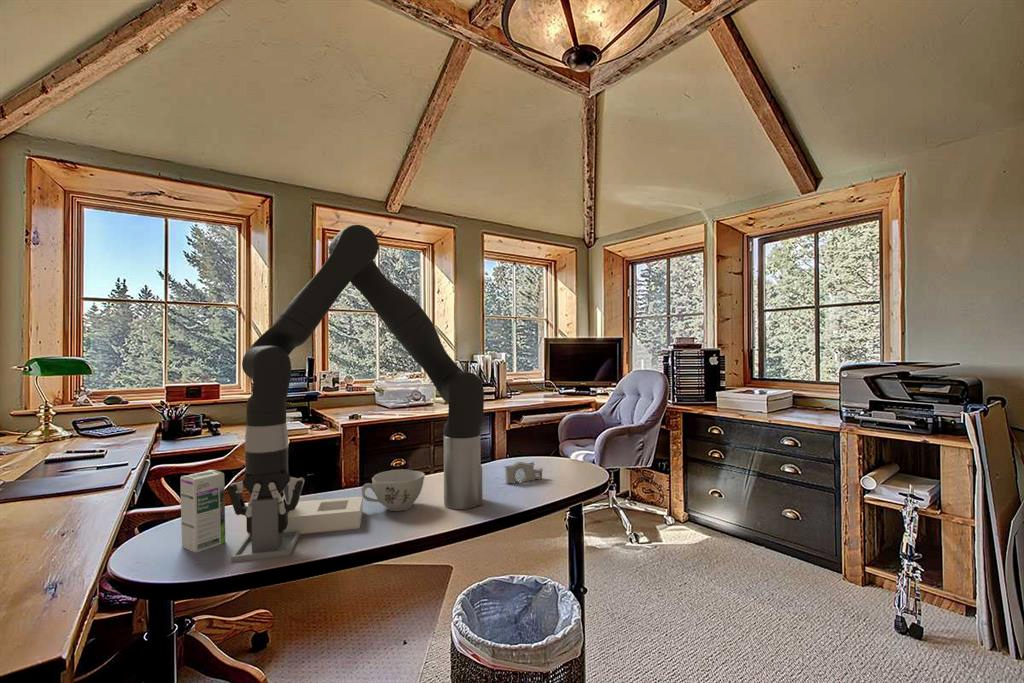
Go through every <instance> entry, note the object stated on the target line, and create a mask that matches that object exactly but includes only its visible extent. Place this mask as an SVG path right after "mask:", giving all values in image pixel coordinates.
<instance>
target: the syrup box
mask: <svg viewBox="0 0 1024 683" xmlns="http://www.w3.org/2000/svg"><path fill="white" fill-rule="evenodd" d="M225 485H226V484H225V473H224V472H222V471H219V470H217V469H208V470H206V471H205V470H204V471H202V472H195V473H191V474H188V475H181V476H180V514H181V515H180V522H181V525H180V526H181V547H182V548H184V549H186V550H188V551H191V552H193V553H195V554H196V553H199V552H203V551H205V550H209V549H211V548H214V547H216V546H219V545H223V544H225V543H226V507H225V506H226V503H225V502H226V497H225V496H226V495H225V490H226V489H225Z"/></svg>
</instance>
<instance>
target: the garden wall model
mask: <svg viewBox="0 0 1024 683" xmlns="http://www.w3.org/2000/svg"><path fill="white" fill-rule="evenodd" d="M534 466H535V462H534V461H532V462H527V463H526V462H524V461H516V462H515V463H513V464H512V465H504V469H505V484H506V483H513V484H515V483H514V482H520V481H521V482H523V483H524V481H525V482H530V481H529V480H532V481H536V480H535V479H538V480H542V479H543V470H544V469H543V468H542V467H541V468H538V469H537V468H536V469H534V468H535V467H534ZM518 480H519V481H518Z"/></svg>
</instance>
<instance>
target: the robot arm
mask: <svg viewBox="0 0 1024 683" xmlns="http://www.w3.org/2000/svg"><path fill="white" fill-rule="evenodd" d="M378 252H379V241H378V238H377V236H376V234H375V233H374V232H373V230H372V229H370V228H369V227H367V226H365V225H361V224H352V225H349V226H346V227H344V228H343V229H341V230H340V231H339V232H338V233H337V234H336V235H335V236H334V237H333V239H331V241H330V243H329V246H328V254H329V256H328V257H327V260H326V261H325V262H324V264H323V265H322V266H321V268H320V269H319V270H318V271H317V272H316V273H315V275H313V277H312V278H311V279H310V280H309V282H307V283H306V284H305V285H304V286H303V287H302V289H301V290H300V291H299V292H298V293H297V294H296V295H295V296H294V298H293V299H292V300H290V302H289V303H288V305H287V306H286V307H285V309H283V311H282V312H281V313H280V314H279V316H278V318H277V319H276V320H275V322H274V323H273V325H271V326H270V327H269V328H268V329H267V330H266V331H265V332H263V334H262V335H260V337H258V338H257V339H256V340H255V341H254V342H253V343H252V345H251V346H249V347H248V349H247V350H246V352H245V353H244V356H243V357H242V361H241V362H242V363H241V366H242V367H241V368H242V371H243V373H245V375H246V376H247V377H248V378H250V379H252V391H251V393H252V394H251V395H250V397H249V398H248V399H247V402H246V409H245V410H246V411H245V412H246V430H245V435H244V450H245V452H244V460H245V461H244V463H245V464H244V465H245V467H244V468H245V470H244V472H245V473H244V474H245V475H244V478H243V479H242V480H240V481H238V482H237V481H234V482H232V483H231V484H229V486H228V487H227V493H228V496H229V499H230V501H231V504H232V507H233V509H234V514H235V515H236V516H240V515H242V516H245V517H246V533H247V534H248V533H250V536H252V501H253V499H254V500H257V499H265V498H273V499H278V510H279V513H280V514H279V533H283V531H284V530H285V529H286V528H287V525H288V512H289V511H291V510H294V509H295V508H296V506H297V504H298V502H300V498H301V494H302V491H303V487H304V484H305V481H306V480H305V479H306V478H304V477H303V476H301V477H299V478H298V477H294V476H291V474H290V472H289V434H288V433H289V432H288V426H287V404H286V403H287V398H288V393H289V389H290V383H291V377H292V362H291V359H290V354H291V353H292V351H294V350H295V349H296V348H297V347H299V346H302V345H303V344H305V343H306V342H307V340H309V338H310V337H311V335H312V334H313V333H314V331H315V330H316V329H317V327H318V326H319V324H320V323H321V322H322V320H323V318H325V316H326V315H327V313H328V311H329V310H330V309H331V307H332V306H333V305H334V303H335V302H336V300H337V299H338V297H339V296H340V295H341V293H342V292H343V291H344V290H345V288H346V287H347V286H348V284H350V283H351V284H352V285H353V286H354V287H355V288H356V289H357V290H358V291H359V292H360V293H361V295H362V296H363V297H364V298H365V300H366V301H367V303H368V304H369V305H370V307H371V308H372V309H373V310H374V311H375V313H376V314H377V315H378V317H379V318H380V319H381V320H382V321H383V323H384V324H385V326H386V327H387V329H388V330H389V331H390V332H391V334H392V335H393V336H394V337H395V339H396V340H397V341H398V342H399V343H400V345H401V346H402V347H403V349H405V351H406V352H407V353H408V354H409V355H410V356H411V357H412V358H413V360H415V362H416V363H417V364H418V365H419V366H420V367H421V368H422V369H423V371H424V372H425V374H426V375H427V377H428V378H429V380H430V381H431V382H432V384H433V386H434V387H435V390H437V393H438V394H439V396H440V397H441V399H442V400H443V401H444V402H445V403H446V404H448V410H447V411H448V412H447V413H448V414H447V416H448V417H447V421H446V422H445V423H444V424H443V505H444V506H445V507H446V508H449V509H454V510H455V509H456V510H466V509H472V508H476V507H478V506H483V504H484V502H483V466H482V464H481V459H482V458H481V430H482V429H481V428H482V425H483V424H484V423H483V422H484V409H485V408H484V407H485V406H484V403H485V391H484V390H485V389H484V385H483V382H482V380H481V378H480V377H479V376H478V375H477V374H475V373H473V372H470V371H464V370H463V369H461V367H459V366H458V364H456V362H455V361H454V360H453V359H452V358H451V356H450V355H449V354H448V352H447V351H446V349H445V348H444V346H443V342H442V341H441V338H440V336H439V333H438V331H437V329H436V327H435V325H434V324H433V321H432V320H431V319H430V317H429V316H428V315H427V313H426V312H425V311H424V309H423V308H422V307H421V305H420V304H419V303H418V302H417V301H416V300H415V299H414V298H413V297H412V296H410V294H409V293H407V292H405V291H404V290H402V289H401V288H399V287H398V286H396V284H394V283H393V282H392V281H390V280H389V279H388V278H387V277H386V276H385V275H384V274H383V272H382V271H381V269H379V267H378V265H377V264H376V262H375V259H376V258H377V256H378ZM288 483H290V484H291V488H292V489H293V495H292V499H291V502H290V503H288V504H287V501H286V497H285V493H284V491H283V490H284V488H285V487H286V486H287V484H288ZM243 487H244V488H245V489H246V490H247V492H248V493H249V494H250V498H249V501H248V505H247V506H246V503H245V500H244V498H243V495H242V492H243V490H244V488H243ZM280 494H281V496H280Z"/></svg>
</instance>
